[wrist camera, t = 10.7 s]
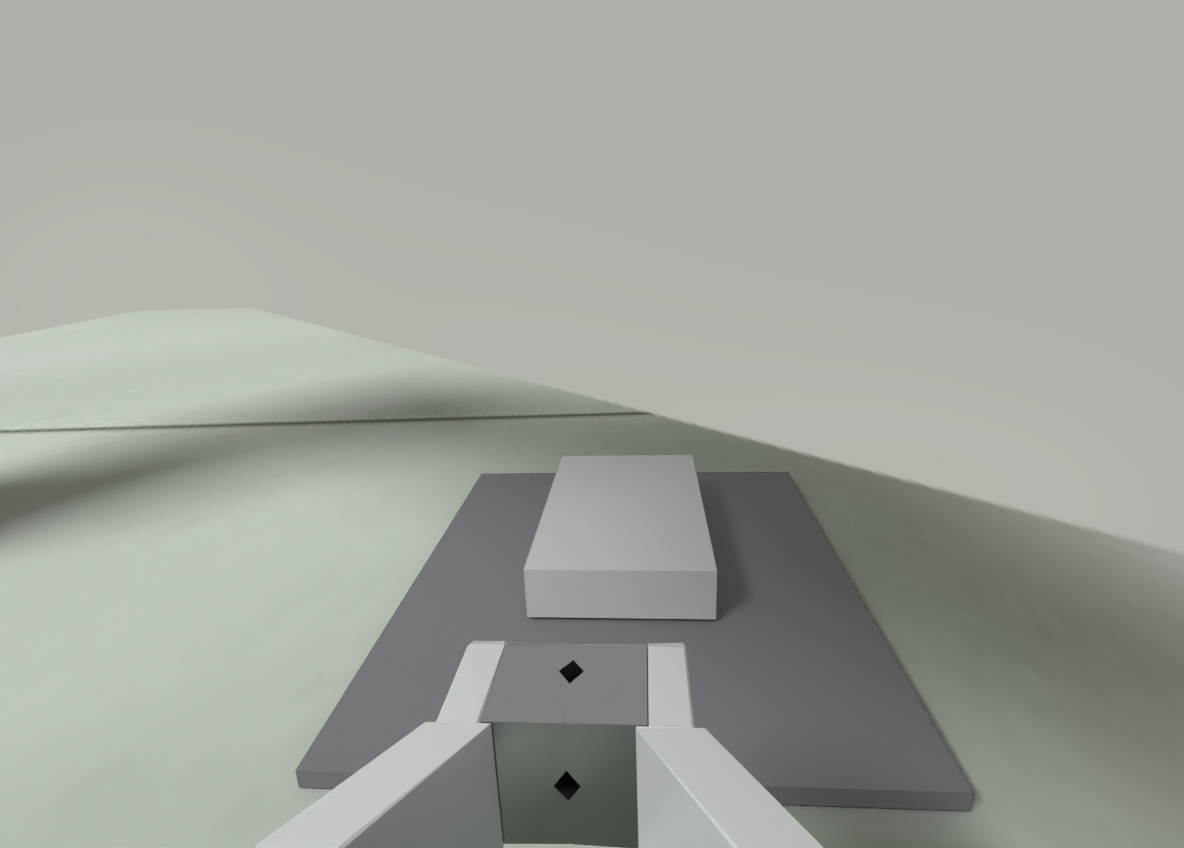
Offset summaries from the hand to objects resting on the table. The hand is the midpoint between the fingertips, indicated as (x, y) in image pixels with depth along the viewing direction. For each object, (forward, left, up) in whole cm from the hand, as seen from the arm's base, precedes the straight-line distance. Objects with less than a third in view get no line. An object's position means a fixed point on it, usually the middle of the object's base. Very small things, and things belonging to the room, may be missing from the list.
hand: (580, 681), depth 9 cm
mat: (-14, +10, -9) cm, 19 cm away
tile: (-11, +7, -7) cm, 15 cm away
